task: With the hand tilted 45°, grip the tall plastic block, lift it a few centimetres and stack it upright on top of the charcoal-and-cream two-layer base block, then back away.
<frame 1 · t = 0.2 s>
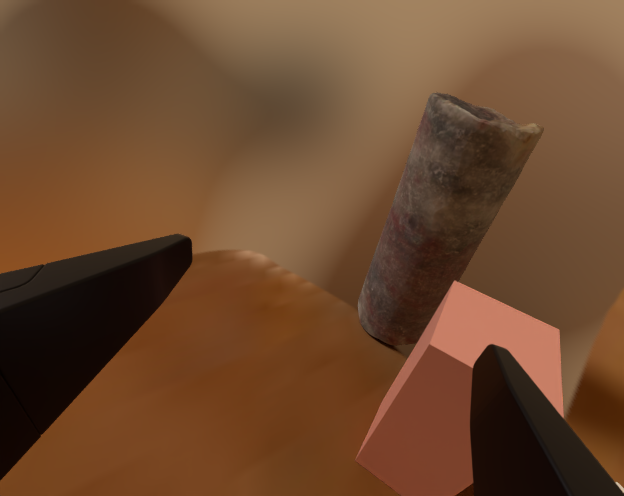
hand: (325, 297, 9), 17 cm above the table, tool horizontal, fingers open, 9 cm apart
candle: (390, 317, 32), on the table
top brick: (402, 450, 22), on the table
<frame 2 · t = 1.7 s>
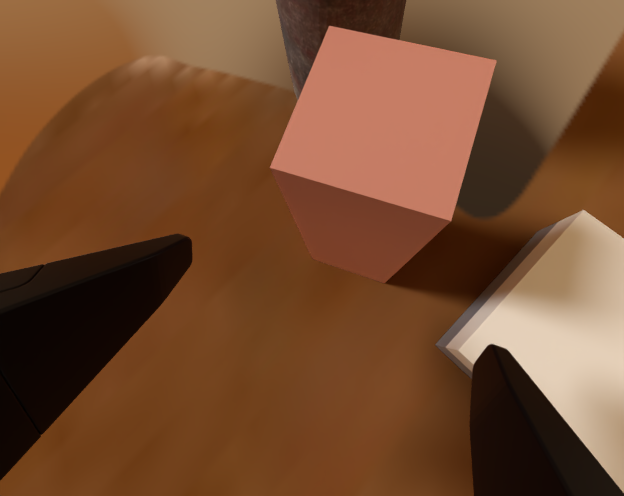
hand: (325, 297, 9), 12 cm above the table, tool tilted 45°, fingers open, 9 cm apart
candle: (341, 87, 24), on the table
base block: (557, 345, 19), on the table
top brick: (359, 236, 21), on the table
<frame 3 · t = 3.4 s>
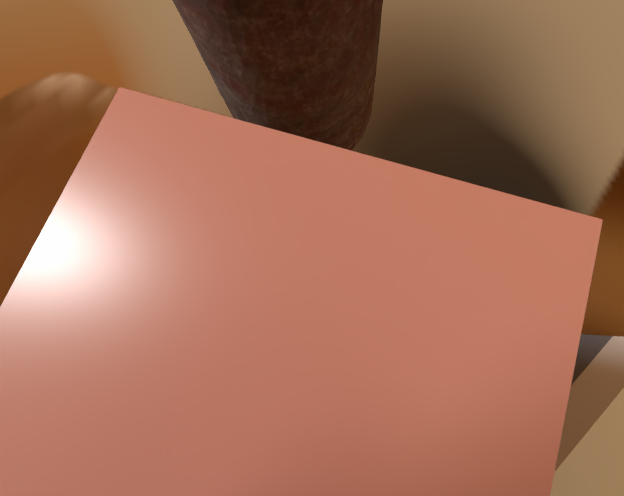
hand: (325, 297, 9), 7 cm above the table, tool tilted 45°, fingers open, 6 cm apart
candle: (305, 117, 18), on the table
top brick: (323, 334, 15), on the table, touching gripper
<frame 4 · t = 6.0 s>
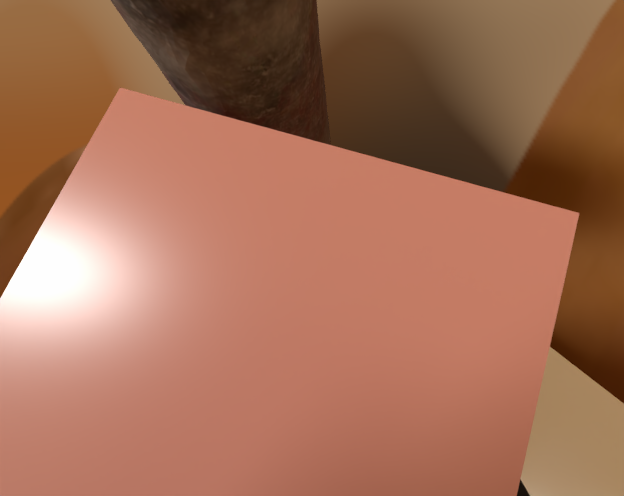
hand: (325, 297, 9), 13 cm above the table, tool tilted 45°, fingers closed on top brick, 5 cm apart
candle: (286, 167, 25), on the table
base block: (492, 426, 20), on the table
top brick: (326, 336, 15), point 7 cm above the table, touching gripper
when the fingers open (11 cm above the table, at t = 8.2 s): top brick stays where it is, resting on base block.
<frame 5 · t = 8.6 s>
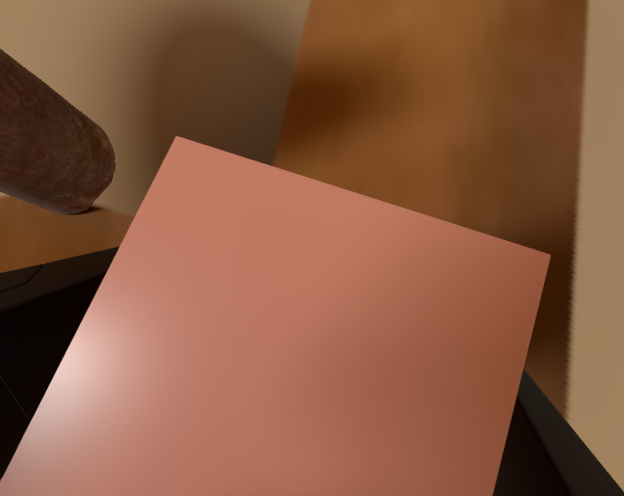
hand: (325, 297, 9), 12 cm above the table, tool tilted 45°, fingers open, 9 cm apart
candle: (81, 171, 25), on the table
top brick: (325, 334, 16), point 4 cm above the table, touching base block
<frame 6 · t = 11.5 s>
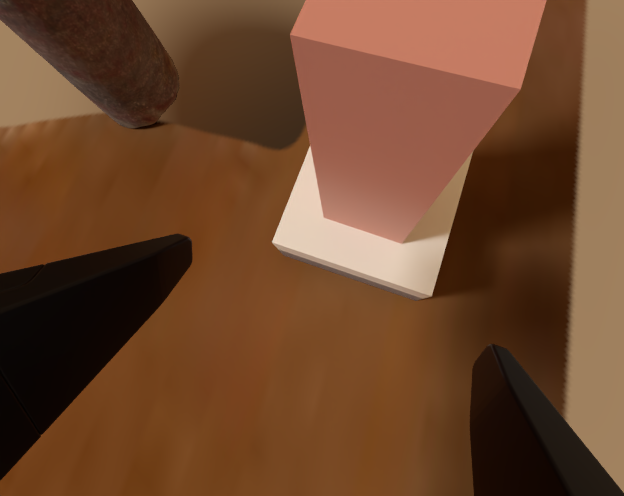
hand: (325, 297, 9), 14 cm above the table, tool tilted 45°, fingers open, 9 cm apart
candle: (146, 94, 28), on the table
base block: (368, 214, 24), on the table
top brick: (374, 194, 20), point 4 cm above the table, touching base block
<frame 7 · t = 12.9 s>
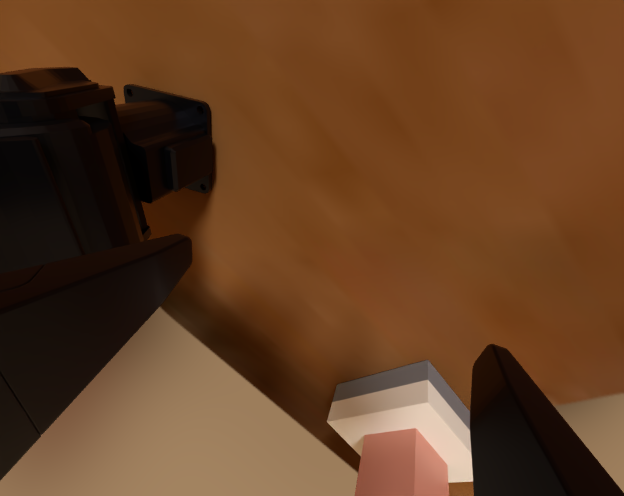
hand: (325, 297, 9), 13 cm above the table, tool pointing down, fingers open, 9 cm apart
base block: (408, 407, 30), on the table
top brick: (404, 449, 27), point 4 cm above the table, touching base block
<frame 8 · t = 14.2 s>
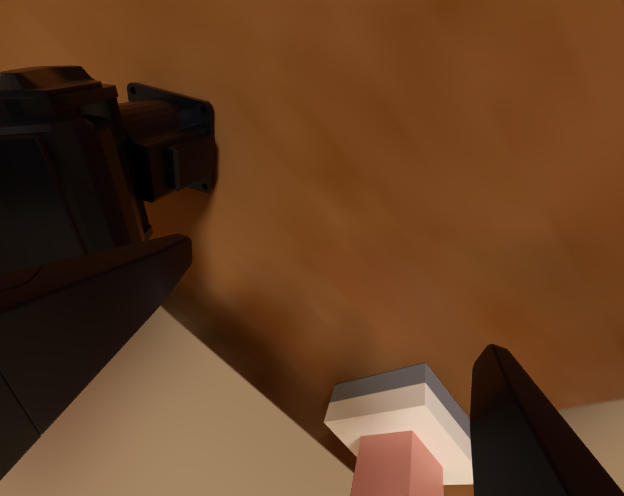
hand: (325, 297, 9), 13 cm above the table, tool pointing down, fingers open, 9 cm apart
base block: (404, 409, 31), on the table
top brick: (400, 451, 27), point 4 cm above the table, touching base block
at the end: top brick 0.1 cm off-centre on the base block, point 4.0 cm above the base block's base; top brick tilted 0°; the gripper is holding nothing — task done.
